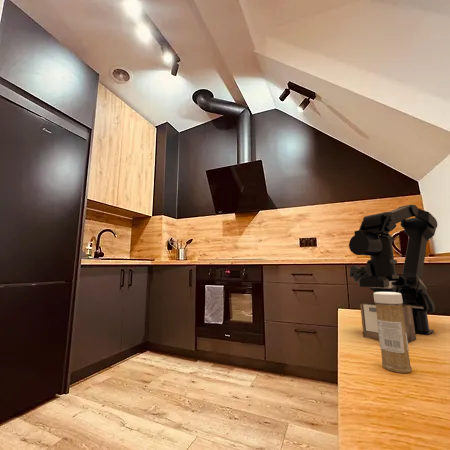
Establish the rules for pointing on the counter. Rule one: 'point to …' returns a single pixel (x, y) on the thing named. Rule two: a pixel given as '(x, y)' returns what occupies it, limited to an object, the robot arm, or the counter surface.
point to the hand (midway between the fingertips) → (388, 313)
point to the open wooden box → (407, 320)
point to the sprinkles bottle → (392, 332)
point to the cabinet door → (370, 318)
